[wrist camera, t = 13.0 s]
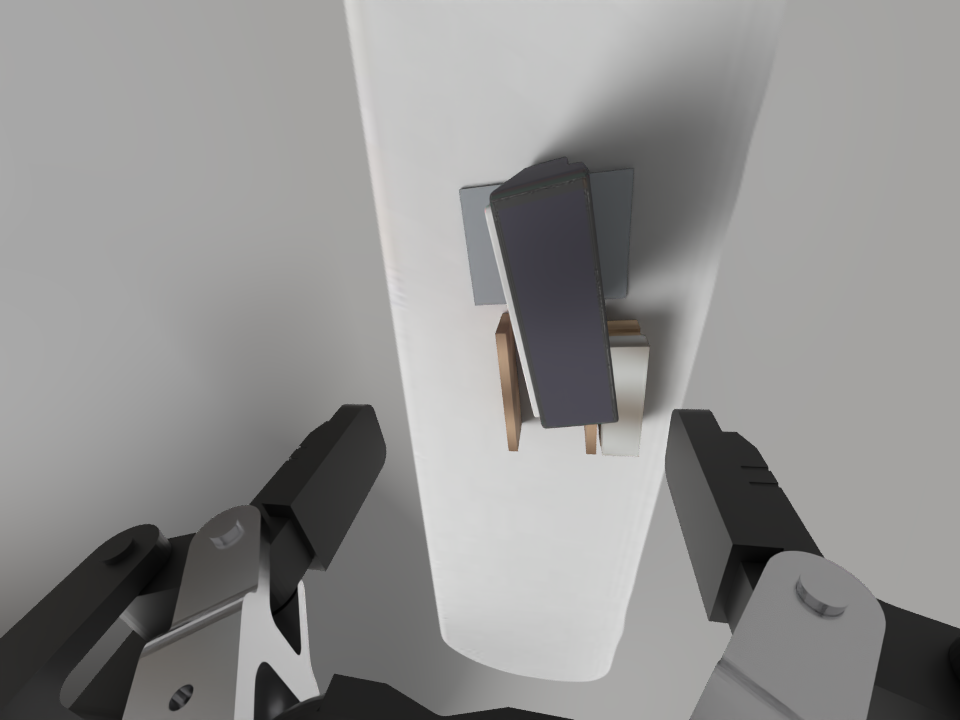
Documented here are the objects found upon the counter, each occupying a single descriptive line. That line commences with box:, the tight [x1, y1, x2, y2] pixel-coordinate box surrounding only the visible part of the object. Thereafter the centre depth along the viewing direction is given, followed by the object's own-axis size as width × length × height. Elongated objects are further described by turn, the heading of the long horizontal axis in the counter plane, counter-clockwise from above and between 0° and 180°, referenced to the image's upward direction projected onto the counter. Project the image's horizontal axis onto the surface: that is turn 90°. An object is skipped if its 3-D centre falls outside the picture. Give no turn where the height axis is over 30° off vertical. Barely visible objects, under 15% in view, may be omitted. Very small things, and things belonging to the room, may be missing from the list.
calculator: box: [485, 157, 619, 428], centre depth 22 cm, size 11×4×15 cm, turn 15°
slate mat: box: [459, 168, 634, 305], centre depth 29 cm, size 9×12×1 cm
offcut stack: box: [598, 320, 650, 457], centre depth 31 cm, size 11×3×5 cm, turn 7°
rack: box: [495, 313, 597, 454], centre depth 33 cm, size 12×8×4 cm, turn 7°
